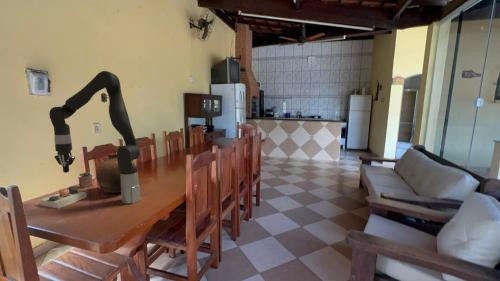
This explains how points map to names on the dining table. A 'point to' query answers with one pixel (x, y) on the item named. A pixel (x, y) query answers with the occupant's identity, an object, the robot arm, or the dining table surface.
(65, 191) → the terracotta knob middle
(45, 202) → the control panel
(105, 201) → the dining table surface
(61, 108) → the robot arm
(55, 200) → the black knob left
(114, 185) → the pottery
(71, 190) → the black knob right
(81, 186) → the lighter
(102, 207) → the dining table surface
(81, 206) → the dining table surface
